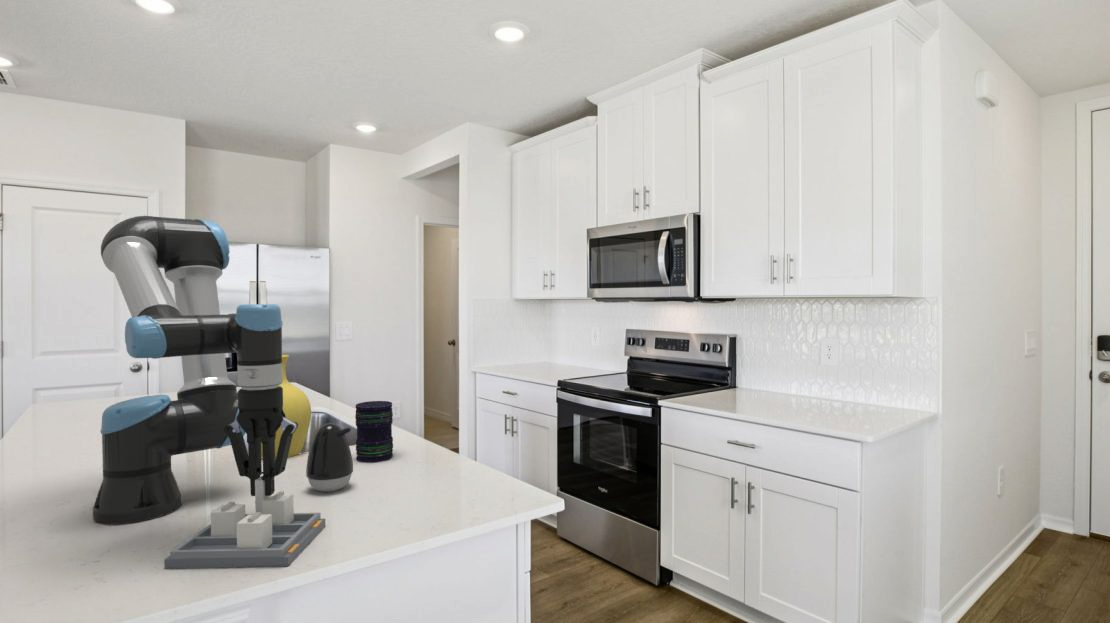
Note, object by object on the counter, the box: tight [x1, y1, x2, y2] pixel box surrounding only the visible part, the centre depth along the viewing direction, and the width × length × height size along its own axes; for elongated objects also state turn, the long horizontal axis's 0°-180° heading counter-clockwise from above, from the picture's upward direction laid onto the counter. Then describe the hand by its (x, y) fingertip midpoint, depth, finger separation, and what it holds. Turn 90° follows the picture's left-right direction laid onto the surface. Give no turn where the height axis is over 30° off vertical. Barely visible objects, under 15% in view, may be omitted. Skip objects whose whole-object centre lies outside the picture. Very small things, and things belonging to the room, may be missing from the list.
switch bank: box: [163, 512, 326, 569], centre depth 106 cm, size 20×17×3 cm
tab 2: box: [237, 511, 272, 549], centre depth 100 cm, size 4×4×6 cm
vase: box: [261, 354, 312, 459], centre depth 168 cm, size 16×16×28 cm
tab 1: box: [210, 501, 246, 537], centre depth 105 cm, size 4×4×6 cm
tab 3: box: [262, 490, 295, 524], centre depth 111 cm, size 4×4×6 cm
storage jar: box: [354, 400, 394, 464], centre depth 163 cm, size 10×10×15 cm
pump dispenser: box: [305, 422, 354, 493], centre depth 137 cm, size 10×10×15 cm
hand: (263, 512), depth 111 cm, fingers closed
